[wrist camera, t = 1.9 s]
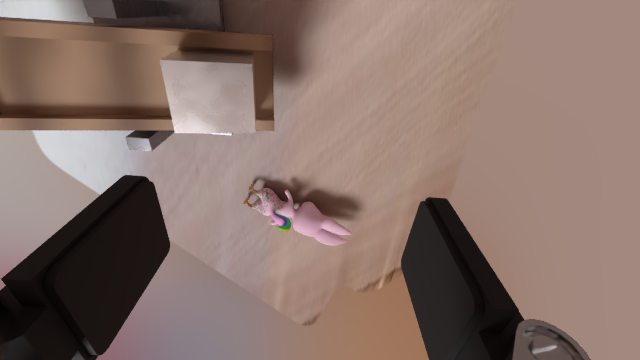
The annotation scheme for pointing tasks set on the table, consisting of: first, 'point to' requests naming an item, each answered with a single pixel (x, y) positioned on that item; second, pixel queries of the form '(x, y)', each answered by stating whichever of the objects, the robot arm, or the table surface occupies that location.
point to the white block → (210, 91)
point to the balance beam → (107, 74)
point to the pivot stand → (164, 12)
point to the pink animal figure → (298, 217)
